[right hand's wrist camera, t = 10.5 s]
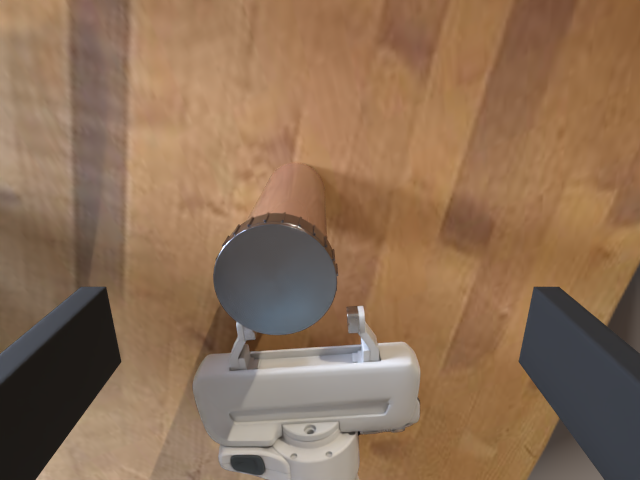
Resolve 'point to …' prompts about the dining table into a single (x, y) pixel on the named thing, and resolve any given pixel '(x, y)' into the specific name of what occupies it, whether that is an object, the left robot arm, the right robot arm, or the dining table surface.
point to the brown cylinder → (294, 195)
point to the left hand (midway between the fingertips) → (300, 312)
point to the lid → (276, 274)
